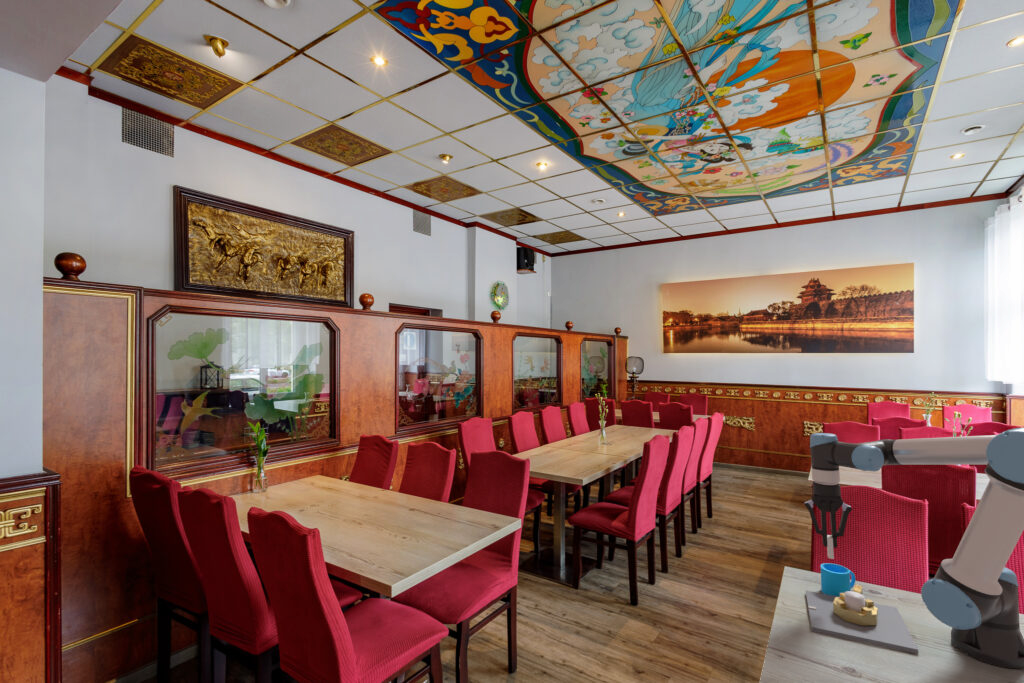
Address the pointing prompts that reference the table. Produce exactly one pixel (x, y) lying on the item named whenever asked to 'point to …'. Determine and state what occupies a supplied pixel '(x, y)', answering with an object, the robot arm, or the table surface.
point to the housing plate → (883, 634)
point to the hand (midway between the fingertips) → (830, 557)
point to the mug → (836, 579)
